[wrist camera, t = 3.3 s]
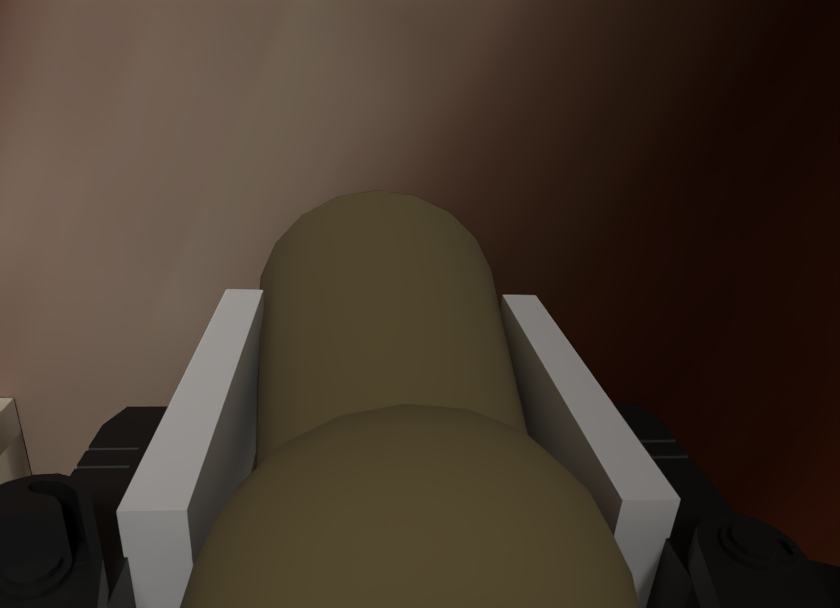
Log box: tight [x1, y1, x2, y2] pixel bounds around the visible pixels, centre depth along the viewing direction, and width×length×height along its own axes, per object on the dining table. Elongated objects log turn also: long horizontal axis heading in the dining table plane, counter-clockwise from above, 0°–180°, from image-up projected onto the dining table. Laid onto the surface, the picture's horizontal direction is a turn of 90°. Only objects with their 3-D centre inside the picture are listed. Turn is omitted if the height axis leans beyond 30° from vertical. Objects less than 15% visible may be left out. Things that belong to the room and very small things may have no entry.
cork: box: [180, 190, 639, 608], centre depth 11 cm, size 6×6×11 cm
